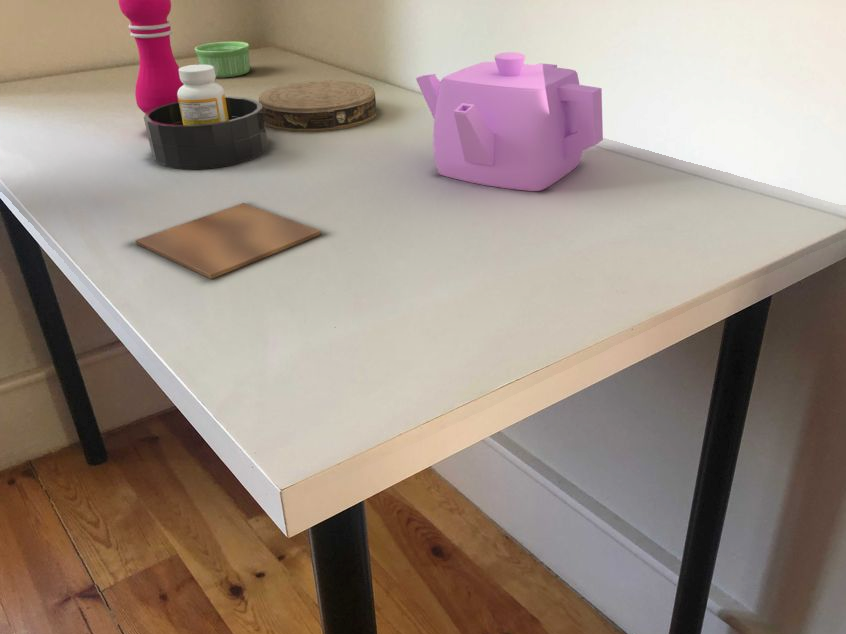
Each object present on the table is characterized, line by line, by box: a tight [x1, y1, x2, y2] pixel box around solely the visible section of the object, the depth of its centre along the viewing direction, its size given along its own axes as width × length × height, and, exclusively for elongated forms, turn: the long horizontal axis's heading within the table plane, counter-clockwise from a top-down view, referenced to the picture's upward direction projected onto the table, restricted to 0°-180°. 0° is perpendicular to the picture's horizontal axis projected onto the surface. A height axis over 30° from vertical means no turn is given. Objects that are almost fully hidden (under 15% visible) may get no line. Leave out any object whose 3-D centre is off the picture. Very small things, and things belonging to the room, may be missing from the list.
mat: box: [135, 202, 322, 280], centre depth 73 cm, size 12×12×1 cm
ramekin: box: [194, 40, 251, 79], centre depth 135 cm, size 9×9×4 cm
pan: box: [143, 96, 269, 170], centre depth 96 cm, size 14×14×5 cm
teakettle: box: [415, 52, 604, 192], centre depth 86 cm, size 17×17×12 cm
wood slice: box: [258, 80, 378, 133], centre depth 110 cm, size 16×16×3 cm
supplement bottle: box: [177, 64, 229, 125], centre depth 95 cm, size 5×5×10 cm
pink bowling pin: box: [118, 0, 184, 114], centre depth 100 cm, size 7×7×20 cm
